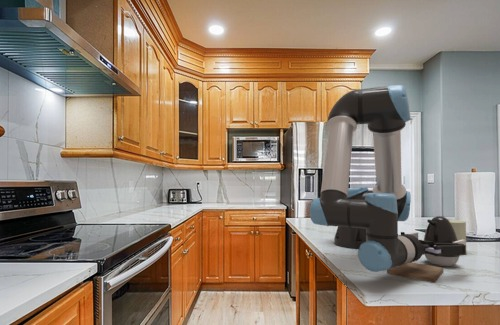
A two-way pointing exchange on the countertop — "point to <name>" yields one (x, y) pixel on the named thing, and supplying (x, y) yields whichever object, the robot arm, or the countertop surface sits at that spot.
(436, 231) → the pump dispenser
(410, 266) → the walnut board
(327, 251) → the countertop surface
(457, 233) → the can
